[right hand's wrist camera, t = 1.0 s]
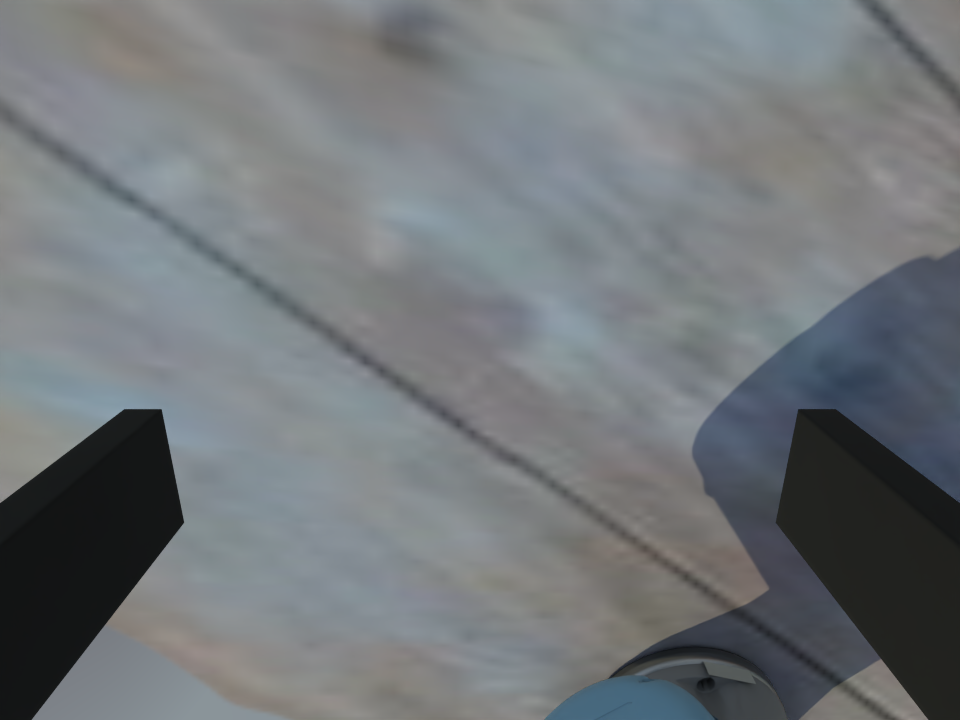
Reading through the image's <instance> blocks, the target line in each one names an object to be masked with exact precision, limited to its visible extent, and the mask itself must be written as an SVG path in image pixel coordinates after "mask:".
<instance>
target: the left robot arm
mask: <svg viewBox="0 0 960 720" xmlns="http://www.w3.org/2000/svg"><path fill="white" fill-rule="evenodd" d="M544 720H788V719H787V716H786V713H785V709H784V707H783V704H782V702H781V701H780V699H779V697H778V695H777V693H776V691H775V689H774V687H773V686H772V684H771V682H770V681H769V679H768V678H767V676H766V675H765V674H764V673H763V672H762V671H761V670H760V669H759V668H757V667H756V666H755V665H754V664H752V663H751V662H749V661H747V660H746V659H744V658H742V657H740V656H737V655H735V654H732V653H729V652H726V651H722V650H717V649H711V648H700V647H687V648H677V649H671V650H666V651H662V652H658V653H655V654H652V655H649V656H646V657H644V658H641V659H639V660H637V661H635V662H633V663H631V664H630V665H628V666H626V667H625V668H623V669H622V670H620V671H619V672H618V673H616V674H615V675H614V676H613V677H612V678H610V679H606V680H603V681H600V682H598V683H595V684H593V685H590V686H588V687H586V688H584V689H582V690H581V691H579V692H577V693H575V694H574V695H572V696H571V697H569V698H568V699H567V700H565V701H564V702H563V703H561V704H560V705H559V706H558V707H557V708H556V709H555V710H553V711H552V712H551V713H550V714H549V715H548V716H547V717H546V718H545V719H544Z"/></svg>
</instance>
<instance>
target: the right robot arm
mask: <svg viewBox="0 0 960 720" xmlns="http://www.w3.org/2000/svg"><path fill="white" fill-rule="evenodd" d="M183 523H184V520H183V514H182V509H181V504H180V499H179V494H178V489H177V484H176V479H175V474H174V469H173V464H172V459H171V454H170V449H169V444H168V439H167V434H166V429H165V424H164V419H163V414H162V409H124V410H123V411H122V412H120V413H119V414H118V415H116V416H115V417H114V418H112V419H111V420H110V421H108V422H107V423H106V424H104V425H103V426H102V427H100V428H99V429H98V430H96V431H95V432H94V433H92V434H91V435H90V436H88V437H87V438H86V439H84V440H83V441H82V442H81V443H79V444H78V445H77V446H75V447H74V448H73V449H71V450H70V451H69V452H67V453H66V454H65V455H63V456H62V457H61V458H59V459H58V460H57V461H55V462H54V463H53V464H51V465H50V466H49V467H47V468H46V469H45V470H44V471H42V472H41V473H40V474H38V475H37V476H36V477H34V478H33V479H32V480H30V481H29V482H28V483H26V484H25V485H24V486H22V487H21V488H20V489H18V490H17V491H16V492H14V493H13V494H12V495H10V496H9V497H8V498H7V499H5V500H4V501H3V502H1V503H0V720H32V718H33V717H34V716H35V715H36V713H37V712H38V711H39V709H40V708H41V707H42V706H43V704H44V703H45V702H46V700H47V699H48V698H49V696H50V695H51V694H52V693H53V691H54V690H55V689H56V687H57V686H58V685H59V684H60V682H61V681H62V680H63V678H64V677H65V676H66V675H67V673H68V672H69V671H70V669H71V668H72V667H73V665H74V664H75V663H76V662H77V660H78V659H79V658H80V656H81V655H82V654H83V653H84V651H85V650H86V649H87V647H88V646H89V645H90V644H91V642H92V641H93V640H94V638H95V637H96V636H97V634H98V633H99V632H100V631H101V629H102V628H103V627H104V625H105V624H106V623H107V622H108V620H109V619H110V618H111V616H112V615H113V614H114V613H115V611H116V610H117V609H118V607H119V606H120V605H121V603H122V602H123V601H124V600H125V598H126V597H127V596H128V594H129V593H130V592H131V591H132V589H133V588H134V587H135V585H136V584H137V583H138V582H139V580H140V579H141V578H142V576H143V575H144V574H145V572H146V571H147V570H148V569H149V567H150V566H151V565H152V563H153V562H154V561H155V560H156V558H157V557H158V556H159V554H160V553H161V552H162V551H163V549H164V548H165V547H166V545H167V544H168V543H169V541H170V540H171V539H172V538H173V536H174V535H175V534H176V532H177V531H178V530H179V529H180V527H181V526H182V525H183ZM776 523H777V525H778V526H779V527H780V529H781V530H782V531H783V532H784V534H785V535H786V536H787V538H788V539H789V540H790V541H791V543H792V544H793V545H794V547H795V548H796V549H797V551H798V552H799V553H800V554H801V556H802V557H803V558H804V560H805V561H806V562H807V563H808V565H809V566H810V567H811V569H812V570H813V571H814V572H815V574H816V575H817V576H818V578H819V579H820V580H821V582H822V583H823V584H824V585H825V587H826V588H827V589H828V591H829V592H830V593H831V594H832V596H833V597H834V598H835V600H836V601H837V602H838V603H839V605H840V606H841V607H842V609H843V610H844V611H845V613H846V614H847V615H848V616H849V618H850V619H851V620H852V622H853V623H854V624H855V625H856V627H857V628H858V629H859V631H860V632H861V633H862V634H863V636H864V637H865V638H866V640H867V641H868V642H869V644H870V645H871V646H872V647H873V649H874V650H875V651H876V653H877V654H878V655H879V656H880V658H881V659H882V660H883V662H884V663H885V664H886V665H887V667H888V668H889V669H890V671H891V672H892V673H893V675H894V676H895V677H896V678H897V680H898V681H899V682H900V684H901V685H902V686H903V687H904V689H905V690H906V691H907V693H908V694H909V695H910V696H911V698H912V699H913V700H914V702H915V703H916V704H917V706H918V707H919V708H920V709H921V711H922V712H923V713H924V715H925V716H926V717H927V718H928V720H960V503H959V502H957V501H956V500H955V499H953V498H952V497H951V496H950V495H948V494H947V493H946V492H944V491H943V490H942V489H940V488H939V487H938V486H936V485H935V484H934V483H932V482H931V481H930V480H928V479H927V478H926V477H924V476H923V475H922V474H920V473H919V472H918V471H916V470H915V469H914V468H913V467H911V466H910V465H909V464H907V463H906V462H905V461H903V460H902V459H901V458H899V457H898V456H897V455H895V454H894V453H893V452H891V451H890V450H889V449H887V448H886V447H885V446H883V445H882V444H881V443H879V442H878V441H877V440H876V439H874V438H873V437H872V436H870V435H869V434H868V433H866V432H865V431H864V430H862V429H861V428H860V427H858V426H857V425H856V424H854V423H853V422H852V421H850V420H849V419H848V418H846V417H845V416H844V415H842V414H841V413H840V412H838V411H837V410H836V409H798V414H797V419H796V424H795V429H794V434H793V439H792V444H791V449H790V454H789V459H788V464H787V469H786V474H785V479H784V484H783V489H782V494H781V499H780V504H779V509H778V514H777V520H776Z"/></svg>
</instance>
